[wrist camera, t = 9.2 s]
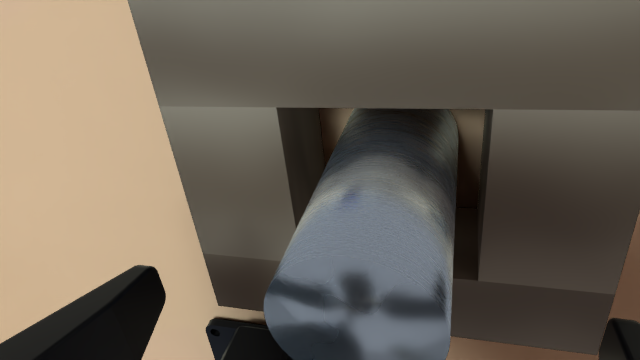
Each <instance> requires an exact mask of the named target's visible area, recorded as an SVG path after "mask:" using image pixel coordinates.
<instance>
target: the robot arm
mask: <svg viewBox="0 0 640 360" xmlns="http://www.w3.org/2000/svg"><path fill="white" fill-rule="evenodd" d="M165 299H166V294H165V290H164V287H163V285H162V282H161V279H160V277H159V274H158V271H157V270H156V269H155V268H154V267H152V266H144V265H137V266H134V267H132V268H130V269H129V270H127V271H125V272H124V273H122V274H120V275H118V276H117V277H115V278H113V279H111V280H110V281H108V282H106V283H105V284H103V285H101V286H99V287H98V288H96V289H94V290H92V291H91V292H89V293H87V294H85V295H84V296H82V297H80V298H79V299H77V300H75V301H73V302H72V303H70V304H68V305H66V306H65V307H63V308H61V309H60V310H58V311H56V312H54V313H53V314H51V315H49V316H47V317H46V318H44V319H42V320H40V321H39V322H37V323H35V324H34V325H32V326H30V327H28V328H27V329H25V330H23V331H21V332H20V333H18V334H16V335H15V336H13V337H11V338H9V339H8V340H6V341H4V342H2V343H1V344H0V360H141V359H142V356H143V354H144V352H145V349H146V347H147V345H148V342H149V340H150V337H151V335H152V333H153V330H154V328H155V325H156V323H157V321H158V318H159V316H160V313H161V311H162V309H163V306H164V304H165ZM206 333H207V336H208V339H209V342H210V345H211V348H212V351H213V355H214V358H215V360H293V359H292V358H291V357H290V356H289V355H288V354H287V353H286V352H285V351H284V350H283V349H282V348H281V347H280V346H279V345H278V343H277V342H276V341H275V339H274V338H273V336H272V334H271V332H270V330H269V328H268V326H264V325H257V324H250V323H243V322H236V321H229V320H221V319H212V320H210V322H209V324H208V325H207V327H206ZM599 360H640V323H638V322H637V321H634V320H626V319H617V318H612V319H610V320H609V321H608V323H607V325H606V329H605V332H604V336H603V339H602V342H601V346H600V350H599Z"/></svg>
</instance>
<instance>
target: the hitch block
mask: <svg viewBox="0 0 640 360" xmlns="http://www.w3.org/2000/svg"><path fill="white" fill-rule="evenodd" d="M128 3H129V7H130V10H131V13H132V17H133V20H134V24H135V27H136V30H137V34H138V37H139V40H140V44H141V47H142V50H143V54H144V57H145V61H146V64H147V67H148V71H149V74H150V77H151V81H152V84H153V87H154V91H155V94H156V98H157V101H158V104H159V108H160V111H161V114H162V118H163V121H164V124H165V128H166V131H167V135H168V138H169V141H170V145H171V148H172V151H173V155H174V158H175V161H176V165H177V168H178V171H179V175H180V178H181V182H182V185H183V188H184V192H185V195H186V198H187V202H188V205H189V208H190V212H191V215H192V219H193V222H194V225H195V229H196V232H197V235H198V239H199V242H200V245H201V249H202V252H203V256H204V259H205V262H206V266H207V269H208V272H209V276H210V279H211V282H212V286H213V289H214V293H215V296H216V299H217V303H218V306H225V307H233V308H241V309H248V310H256V311H263V312H264V299H265V294H266V292H267V290H268V287H269V285H270V283H271V281H272V279H273V277H274V275H275V273H276V270H277V268H278V266H279V264H280V262H281V260H282V258H283V256H284V254H285V252H286V249H287V247H288V245H289V243H290V241H291V239H292V237H293V235H294V233H295V231H296V228H297V226H298V224H299V222H300V220H301V218H302V216H303V214H304V212H305V210H306V207H307V205H308V203H309V201H310V199H311V197H312V195H313V193H314V191H315V189H316V186H317V184H318V182H319V180H320V178H321V176H322V174H323V172H324V170H325V163H324V154H323V145H322V136H321V127H320V119H319V110H318V108H398V109H485V118H484V130H483V143H482V155H481V168H480V181H479V193H478V206H477V209H472V208H456V211H455V235H454V259H453V283H452V307H451V331H450V336H454V337H462V338H469V339H477V340H485V341H492V342H500V343H508V344H515V345H523V346H530V347H538V348H546V349H553V350H561V351H569V352H576V353H584V354H592V355H597V354H598V351H599V347H600V344H601V340H602V337H603V334H604V330H605V327H606V323H607V320H608V316H609V313H610V310H611V306H612V303H613V299H614V296H615V292H616V289H617V286H618V282H619V279H620V275H621V272H622V269H623V265H624V262H625V258H626V255H627V251H628V248H629V245H630V241H631V238H632V234H633V231H634V228H635V224H636V221H637V217H638V214H639V210H640V0H128Z"/></svg>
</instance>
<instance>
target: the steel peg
mask: <svg viewBox="0 0 640 360" xmlns="http://www.w3.org/2000/svg"><path fill="white" fill-rule="evenodd" d="M457 163H458V128H457V124H456V121H455V119H454V117H453V115H452V113H451V111H450V110H449V109H398V108H354V110H353V111H352V113H351V115H350V117H349V119H348V121H347V123H346V126H345V128H344V130H343V132H342V134H341V136H340V138H339V140H338V142H337V144H336V147H335V149H334V151H333V153H332V155H331V157H330V159H329V161H328V163H327V165H326V168H325V170H324V172H323V174H322V176H321V178H320V180H319V182H318V184H317V186H316V189H315V191H314V193H313V195H312V197H311V199H310V201H309V203H308V205H307V207H306V210H305V212H304V214H303V216H302V218H301V220H300V222H299V224H298V226H297V228H296V231H295V233H294V235H293V237H292V239H291V241H290V243H289V245H288V247H287V249H286V252H285V254H284V256H283V258H282V260H281V262H280V264H279V266H278V268H277V270H276V273H275V275H274V277H273V279H272V281H271V283H270V285H269V287H268V290H267V292H266V294H265V299H264V316H265V320H266V323H267V326H268V328H269V330H270V332H271V334H272V336H273V338H274V339H275V341H276V342H277V343H278V345H279V346H280V347H281V348H282V349H283V350H284V351H285V352H286V353H287V354H288V355H289V356H290V357H291V358H292V359H293V360H445V359H446V357H447V354H448V351H449V346H450V331H451V307H452V283H453V259H454V235H455V211H456V187H457Z"/></svg>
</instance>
